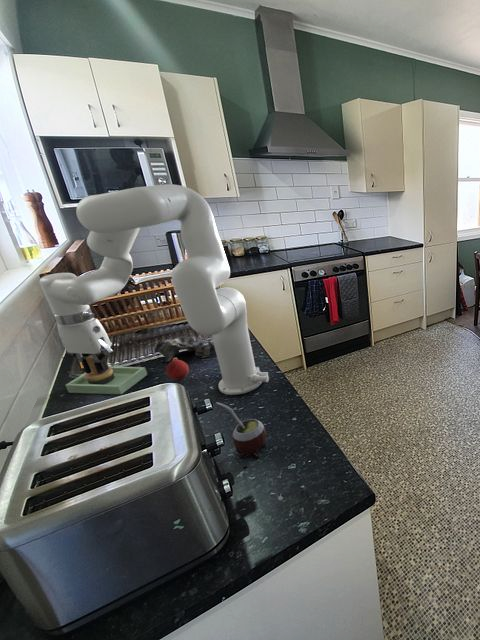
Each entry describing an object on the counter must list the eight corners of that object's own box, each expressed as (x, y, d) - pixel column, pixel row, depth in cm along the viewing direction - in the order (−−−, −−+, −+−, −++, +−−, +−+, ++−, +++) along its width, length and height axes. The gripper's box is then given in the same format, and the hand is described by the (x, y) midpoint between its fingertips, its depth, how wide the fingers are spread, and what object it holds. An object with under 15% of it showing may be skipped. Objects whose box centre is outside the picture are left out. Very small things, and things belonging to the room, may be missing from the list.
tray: (147, 374, 113) (145, 367, 112) (121, 394, 103) (118, 386, 102) (99, 373, 112) (96, 365, 111) (68, 392, 103) (65, 385, 102)
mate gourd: (273, 452, 85) (263, 403, 79) (239, 469, 80) (225, 418, 74) (261, 436, 90) (251, 388, 83) (228, 451, 85) (215, 402, 78)
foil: (201, 357, 117) (159, 333, 114) (192, 377, 122) (151, 355, 119) (222, 339, 127) (184, 317, 125) (213, 359, 132) (176, 338, 129)
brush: (120, 374, 110) (111, 351, 107) (103, 386, 104) (93, 362, 101) (100, 374, 110) (90, 351, 107) (82, 386, 104) (71, 362, 101)
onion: (180, 386, 108) (173, 364, 104) (165, 383, 109) (157, 361, 105) (195, 376, 113) (189, 354, 109) (180, 373, 114) (173, 352, 110)
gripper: (114, 312, 102) (134, 365, 109) (58, 310, 102) (82, 363, 109) (91, 323, 95) (114, 379, 103) (32, 321, 95) (59, 377, 102)
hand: (97, 370), depth 106 cm, fingers closed on brush, 2 cm apart
